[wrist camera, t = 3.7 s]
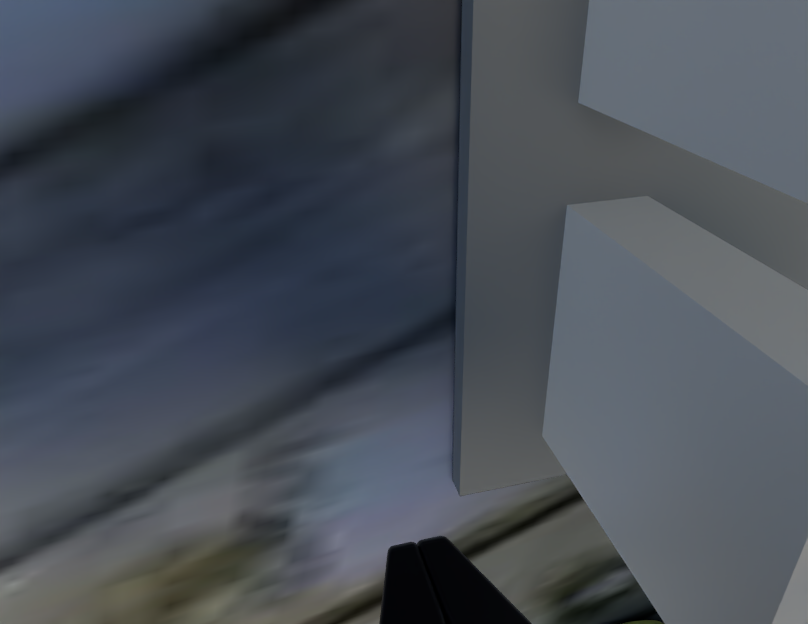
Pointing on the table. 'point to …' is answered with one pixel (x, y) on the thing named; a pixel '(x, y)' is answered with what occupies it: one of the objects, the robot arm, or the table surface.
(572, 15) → the slate mat
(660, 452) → the tile
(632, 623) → the plant pot
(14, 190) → the table surface
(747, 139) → the tile
